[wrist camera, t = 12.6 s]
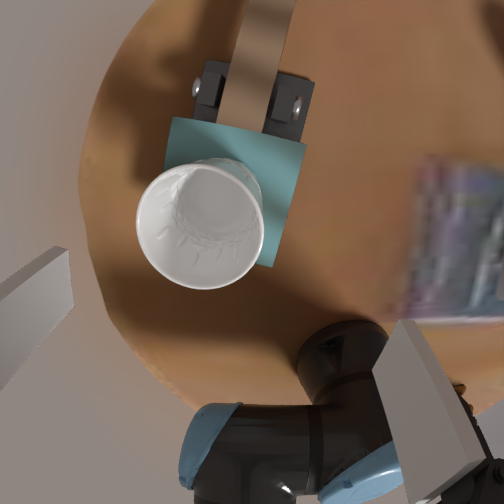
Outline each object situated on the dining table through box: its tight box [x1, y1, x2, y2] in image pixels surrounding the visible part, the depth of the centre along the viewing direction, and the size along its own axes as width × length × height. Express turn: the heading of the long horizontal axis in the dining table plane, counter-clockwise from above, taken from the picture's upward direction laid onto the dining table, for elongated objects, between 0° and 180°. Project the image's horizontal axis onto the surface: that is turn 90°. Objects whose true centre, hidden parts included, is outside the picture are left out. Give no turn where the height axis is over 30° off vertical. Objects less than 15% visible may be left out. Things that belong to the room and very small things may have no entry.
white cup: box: [136, 157, 264, 289], centre depth 22 cm, size 8×8×10 cm
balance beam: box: [163, 0, 306, 267], centre depth 21 cm, size 33×12×6 cm, turn 167°
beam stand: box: [192, 60, 315, 142], centre depth 26 cm, size 8×12×8 cm, turn 77°
